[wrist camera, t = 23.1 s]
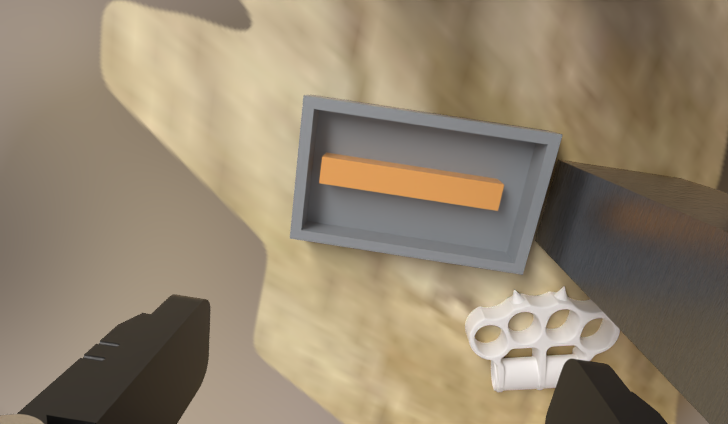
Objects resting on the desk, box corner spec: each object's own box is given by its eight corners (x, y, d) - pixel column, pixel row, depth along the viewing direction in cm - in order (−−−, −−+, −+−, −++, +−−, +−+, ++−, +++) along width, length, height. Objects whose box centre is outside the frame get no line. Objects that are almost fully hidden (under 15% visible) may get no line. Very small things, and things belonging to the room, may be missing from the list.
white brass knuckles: (467, 381, 57) (462, 286, 53) (602, 374, 55) (609, 275, 51) (471, 399, 54) (467, 299, 50) (615, 392, 52) (623, 288, 48)
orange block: (323, 177, 49) (319, 183, 46) (326, 152, 48) (322, 156, 45) (491, 203, 48) (497, 210, 46) (497, 178, 48) (504, 184, 45)
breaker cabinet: (532, 251, 50) (752, 503, 20) (558, 159, 47) (872, 294, 17) (646, 268, 50) (1045, 551, 20) (680, 178, 47) (1226, 349, 16)
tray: (297, 227, 51) (289, 238, 47) (310, 94, 47) (303, 95, 43) (512, 260, 51) (522, 274, 47) (548, 130, 46) (562, 134, 42)
